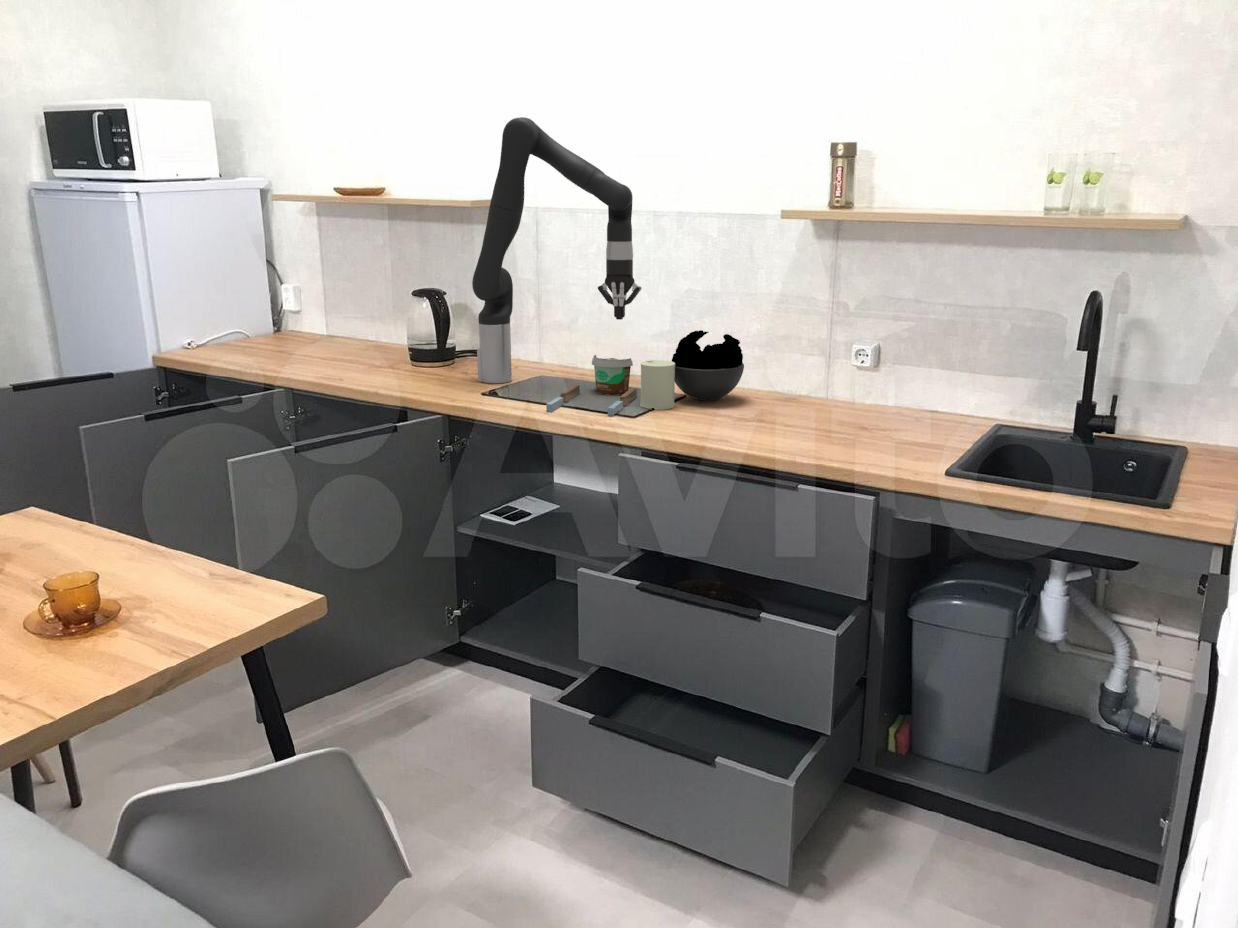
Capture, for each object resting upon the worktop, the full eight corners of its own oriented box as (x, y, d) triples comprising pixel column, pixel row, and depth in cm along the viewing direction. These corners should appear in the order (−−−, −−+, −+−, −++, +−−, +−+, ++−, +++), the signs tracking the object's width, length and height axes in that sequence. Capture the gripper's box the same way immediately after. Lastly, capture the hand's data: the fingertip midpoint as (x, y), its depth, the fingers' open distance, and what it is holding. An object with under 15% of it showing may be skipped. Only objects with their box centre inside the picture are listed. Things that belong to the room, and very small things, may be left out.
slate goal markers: (546, 411, 255) (546, 404, 255) (557, 404, 264) (557, 397, 263) (613, 416, 251) (613, 408, 250) (622, 408, 259) (622, 401, 259)
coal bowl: (658, 395, 275) (658, 327, 270) (723, 390, 282) (725, 324, 277) (687, 410, 257) (688, 338, 252) (755, 404, 264) (758, 334, 259)
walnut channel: (560, 402, 266) (560, 393, 265) (574, 393, 277) (574, 384, 276) (625, 406, 261) (625, 397, 261) (636, 397, 273) (636, 388, 272)
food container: (583, 393, 278) (583, 358, 275) (594, 389, 283) (594, 354, 280) (622, 397, 272) (622, 361, 269) (632, 393, 277) (632, 358, 275)
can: (656, 400, 268) (657, 357, 265) (681, 406, 262) (682, 361, 259) (632, 405, 262) (633, 361, 259) (658, 411, 256) (658, 365, 253)
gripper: (593, 258, 277) (593, 320, 282) (638, 259, 273) (638, 321, 278) (600, 256, 284) (601, 316, 289) (645, 257, 280) (645, 318, 285)
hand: (619, 319), depth 283 cm, fingers closed
